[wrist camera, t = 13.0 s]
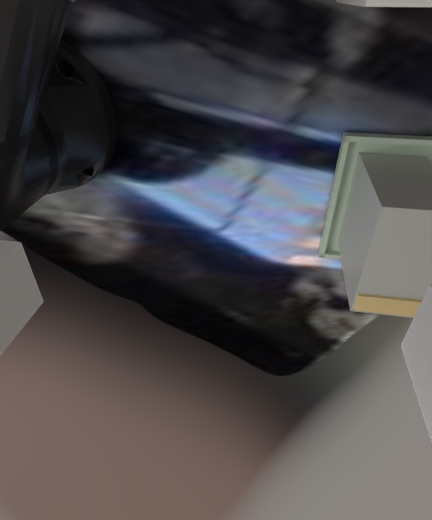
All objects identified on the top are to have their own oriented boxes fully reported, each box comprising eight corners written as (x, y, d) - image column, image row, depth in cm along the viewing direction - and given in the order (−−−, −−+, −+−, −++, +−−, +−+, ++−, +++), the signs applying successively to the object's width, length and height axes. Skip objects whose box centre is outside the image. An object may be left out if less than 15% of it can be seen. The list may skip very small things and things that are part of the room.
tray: (318, 251, 41) (319, 257, 40) (343, 131, 33) (344, 135, 32) (405, 259, 40) (408, 265, 39) (453, 137, 32) (458, 141, 31)
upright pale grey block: (337, 241, 40) (350, 313, 31) (358, 152, 34) (382, 208, 25) (394, 246, 39) (425, 321, 30) (426, 156, 33) (477, 215, 24)
